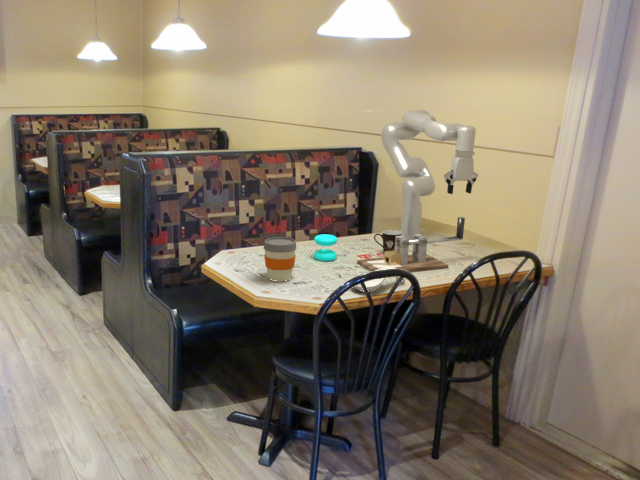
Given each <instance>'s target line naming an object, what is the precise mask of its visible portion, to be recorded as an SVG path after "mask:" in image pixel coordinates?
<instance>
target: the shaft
mask: <svg viewBox="0 0 640 480" xmlns="http://www.w3.org/2000/svg"><path fill="white" fill-rule="evenodd" d="M465 220H466V217H464V216H460V217H459V216H458V217H457V222H456V235H452V236H450V235H449V236H440V237H431V238H428V237H427V244H433V243H434V244H435V243H444V242H455V241H463V240H464V231H465ZM414 244H419V239H417V240H409V246H413V245H414ZM399 246H401V241H399Z"/></svg>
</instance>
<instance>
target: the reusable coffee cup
mask: <svg viewBox="0 0 640 480" xmlns="http://www.w3.org/2000/svg"><path fill="white" fill-rule="evenodd" d="M263 250H264V253H265V254H264V256H263V258H264V264H265V268H266V272H267V279H268V278H269V279H272V280H277V281H285V280H289V279H291V280H292V275H293V269H294V267H295V262H296V250H297V242H296V240H295V239H293V238H291V237H284V236H283V237H282V236H281V237H280V236H278V237H277V236H275V237H274V236H273V237H269V238H266V239H264V243H263ZM269 279H268V280H269ZM289 281H290V280H289Z"/></svg>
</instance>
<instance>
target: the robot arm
mask: <svg viewBox="0 0 640 480" xmlns="http://www.w3.org/2000/svg"><path fill="white" fill-rule="evenodd" d="M401 121H402V122H401ZM401 121H400V122H399V121H398V122H390V123H387V124H385V125H384V126H383V127H382V130H381V135H380V136H381V139H380V140H381V142H382V145H383V148H384V149H385V151H386V152H387V155H388V157H389V159H390V160H391V163H392V165H393V167H394V169H395V172H396V174H397V176H399V177H400V178H406V179H404V180H403V181H402V183H401V185H400V188H401V189H400V190H401V191H400V192H401V200H402V203H401V215H400V216H401V218H400V230H398V231H399V232H401V233H402V234H401V236H403V237H406V238H408V239H409V240H413V237H414V235H416V234H420V235H421V225H422V224H421V223H422V209H423V206H422V202H421V199H420V198H421V197H426V196H430V195H432V194H433V193H434V191H435V189H436V185H435V181H434V178H433V176H432V173H431V172H430V170H429V167H428V165H427V164H426V161H424V160H423V159H422V158H421V157H412V156H409V153H408V152H407V149H406V147H405V146H404V145H403V144H402V143H401V142H400V141H405V140H407V141H409V140H412V139H414V138H415V137H416V136H418V135H419V134H421V133H423V134H424V135H425V136H427V137H428V138H430V139H433V140H436V141H440V142H456V143H455V150H454V156H453V157H452V159H451V162H450V166H449V170H448V172H446V173H445V174H443V177H444V181H445V183H446V184H447V189H446V191H447V194H449V195H453V194H454V193H453V192H454V183H456V182H460V181H461V182H463V181H464V182H467V183H466V186H465V193H467V194H472V190H473V185H474V183H475V182H476V181H477V178H478V177H479V174H478V173H477V172H476V171H474V169H475V168H474V167H475V165H474V164H475V163H474V158H473V156H474V155H476V153H475V151H474V148H475V140H476V131H477V129H476V127H475V126H472V125H464V124H461V123H456V122H455V123H443V122H442V123H441V122H438V121H437V119H436V117H435V116H433V115H431V114H430V112H429V111H427V110H425V109H411V110H407V111H405V112H404V114H403V115H402V117H401Z"/></svg>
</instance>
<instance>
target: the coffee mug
mask: <svg viewBox="0 0 640 480" xmlns="http://www.w3.org/2000/svg"><path fill="white" fill-rule="evenodd" d="M399 231H400V230H393V229H386V230H383V231H382V232H381V233H376V234H374V236H373V239H374V241H375V243H377V244H378V245H379V246H381V247H382V250H383V255H384V254H385V251H394V250H395V236H401V234H402V233H401V232H399ZM376 236H380V237H381V238H382V244H381V243H380V242H379V241H378V240H377V239H376Z"/></svg>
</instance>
